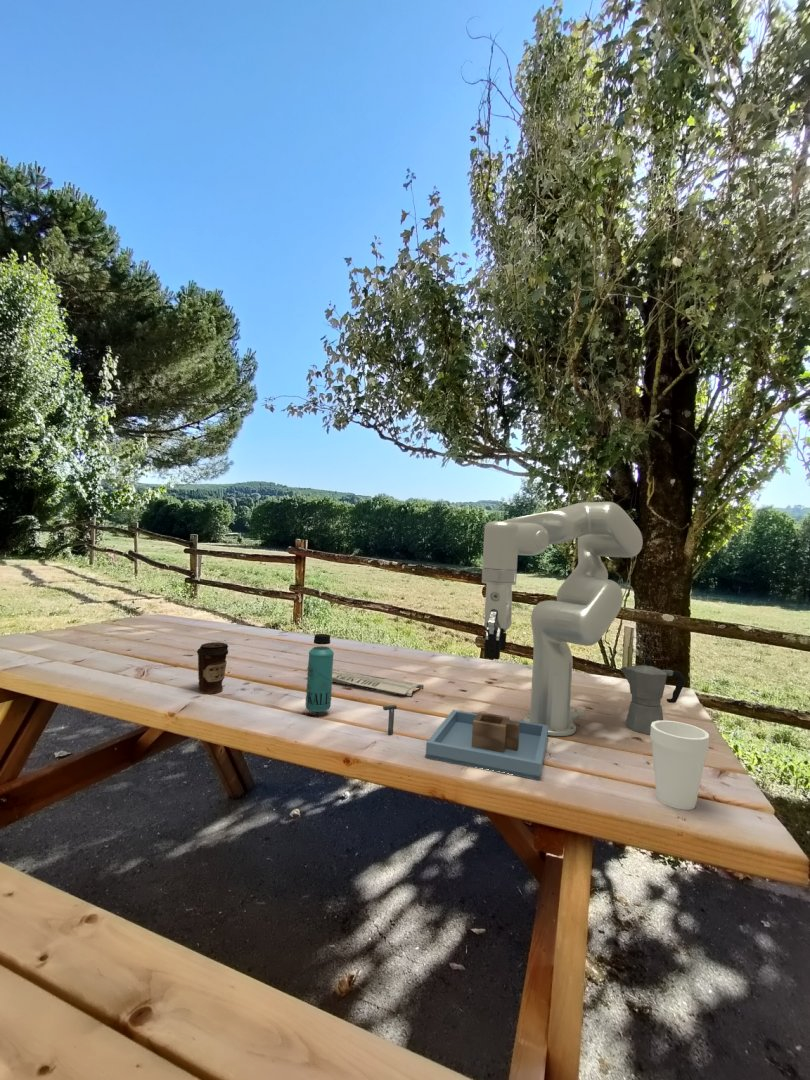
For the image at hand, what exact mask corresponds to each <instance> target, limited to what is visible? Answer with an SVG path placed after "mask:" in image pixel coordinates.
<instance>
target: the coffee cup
mask: <svg viewBox="0 0 810 1080" xmlns="http://www.w3.org/2000/svg"><path fill="white" fill-rule="evenodd" d="M228 648H229V645H228V644H227V643H224V642H219V641H218V642H214V641H213V642H206V643H203V644H201V645H200V647H199V648H198V649H197V651H196V653H197V673H198V676H197V677H198V692H199V693H200V694H216V693H217V694H218V693H220V692H222V691H223V690H224V688H223V687H224V685H223V681H224V679H225V673H226V668H227V655H229V650H228Z"/></svg>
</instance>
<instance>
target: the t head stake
mask: <svg viewBox="0 0 810 1080" xmlns="http://www.w3.org/2000/svg"><path fill="white" fill-rule="evenodd" d="M382 710H384V711H388V721H387V722H388V723H387V725H388V727H387V735H388V736H393V735H394V724H395V723H394V721H395V719H394V718H395V710H397V705H396V704H393V705H392V704H391V705H384V706H382Z"/></svg>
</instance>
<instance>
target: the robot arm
mask: <svg viewBox="0 0 810 1080" xmlns="http://www.w3.org/2000/svg"><path fill="white" fill-rule="evenodd" d="M483 532H484V533H483V535H484V536H483V551H482V552H483V553H482V554H483V555H482V570H481V571H482V575H481V583H482V584H486V588H485V601H484V602H485V603H484V628H485V629H486V632H485V639H484V654H483V655H484V656H483V657H484V658H485V659H492V660H500V658H501V651H506V649H507V648H506V646H507V645H506V643H507V633H506V632H507V630H509V629H510V627H511V626H512V616H513V615H512V613H513V612H512V611H513V610H512V607H513V606H512V604H513V589H512V587H513V586H516V585H517V572H518V570H517V569H518V556H531V557H532V556H538V555H540V554H543V553H544V551H546V549H548V546H550V545H551V546H552V545H560V544H565V543H567V542H569V541H572V540H575V539H577V555H578V556H577V557H578V559H577V561H578V563H577V565H576V567H575V568H574V570H573V571H572V572H571V573H570V574H569V575H568V577H566V579H565V580H564V581H563V583H562V584H561V585H560V587H559V588H558V590H557V593H556V600H551V599H550V600H543V601H540V602H538V603H537V604H536V605H535V606H534V607H533V609H532V611H531V616H530V623H531V629H532V630H531V631H532V639H533V652H532V653H533V659H532V673H531V675H532V677H531V692H530V693H531V694H530V708H529V711H530V712H529V714H528V715H526V716H525V717H524V718H523V721H524V722H530V723H536V724H543V725H548V736H552V737H566V736H567V737H568V736H571V735H574V734H575V732H576V730H577V729H576V728H577V727H576V725H575V723H574V722H573V721H574V720H575V719H582V718H584V717H585V713H584V711H583V710H582V709H578V710H573V709H572V708H571V697H572V680H573V677H572V676H573V661H574V660H573V655H572V651H571V649H570V647H569V644H568V643H570V644H574V645H579V646H585V647H589V646H594V645H596V644H597V643H598V642H599V641H600V640H601V639H602V638H603V636H604V635H605V634H606V632H607V631H608V629H609V627H611V625H612V623H613V622H614V620H615V619H616V618H617V617H618V615H619V613H620V612H621V609H622V606H623V599H624V596H623V595H624V594H623V591H622V587H621V586H620V585H619V584H618V583H617V582H616V581H614V580H612V579H608V578H609V573H608V569H607V567H606V566H605V563H603V561H602V558H601V557H611V558H612V557H613V558H634V557H636V556H637V555H638V554H640V552H641V550H642V548H643V541H644V539H643V534H642V532H641V530H640V528H639V527H638V525H636V523H635V522H634V521H633V519H632V518H631V517H630V516H629V514H628V513H627V512H626V511H625V510H624V509H623V508H622V507H621V506H620V505H619V504H617V503H615V502H613V501H588V502H587V501H585V502H584V501H583V502H578V503H574V504H570V505H567V506H564V507H561V508H557V509H553V510H549V511H548V510H547V511H543V512H537V513H533V514H528V515H522V516H518V517H512V518H510V519H506V520H502V521H498V520H497V521H496V520H495V521H494V520H493V521H488V522H487V523H486V524H485V525H484V531H483Z"/></svg>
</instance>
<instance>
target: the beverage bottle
mask: <svg viewBox="0 0 810 1080" xmlns="http://www.w3.org/2000/svg"><path fill="white" fill-rule="evenodd" d="M313 638H314V639H313V643H314V644H315V645H320V646H314V647H312V649H310V650H309V651H308V662H307V663H308V664H307V670H306V671H307V673H306V674H307V675H306V676H307V679H306V680H307V681H306V685H305V686H306V689H305V692H306V694H305V708H306V710H307V711H311V712H317V713H318V712H326V711H329V710H330V708H331V706H332V705H331V704H332V694H333V693H332V690H333V682H332V669H334V668H333V665H334V653H335V652H334V651H333V649H331V648H330V647H327V646H321V645H330V644H331V635H329V634H327V633H317V634H314V637H313Z"/></svg>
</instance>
